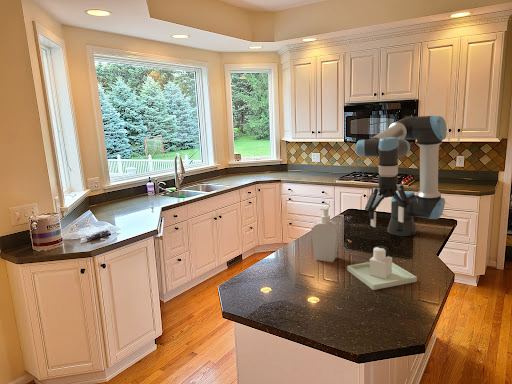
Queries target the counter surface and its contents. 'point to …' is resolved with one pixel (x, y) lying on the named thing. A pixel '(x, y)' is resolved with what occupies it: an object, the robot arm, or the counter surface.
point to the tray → (395, 278)
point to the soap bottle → (325, 237)
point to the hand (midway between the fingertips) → (387, 224)
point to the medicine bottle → (380, 262)
